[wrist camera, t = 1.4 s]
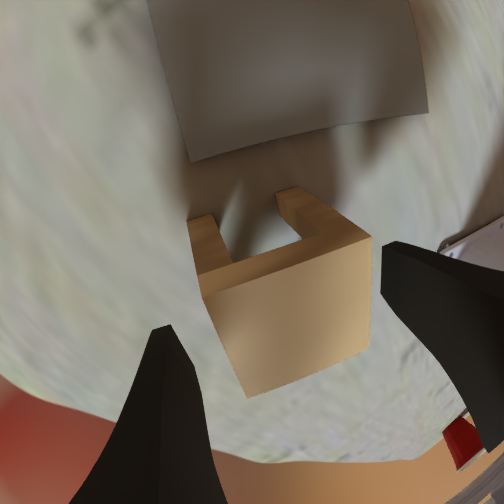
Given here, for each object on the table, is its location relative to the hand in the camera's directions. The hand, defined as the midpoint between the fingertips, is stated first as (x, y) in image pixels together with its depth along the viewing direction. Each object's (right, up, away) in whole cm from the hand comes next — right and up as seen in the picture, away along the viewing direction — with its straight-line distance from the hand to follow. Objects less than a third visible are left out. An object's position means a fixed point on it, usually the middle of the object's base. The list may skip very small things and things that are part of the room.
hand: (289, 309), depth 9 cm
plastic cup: (+43, -37, +37) cm, 68 cm away
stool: (-1, +2, +3) cm, 4 cm away
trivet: (+1, +11, -1) cm, 11 cm away
